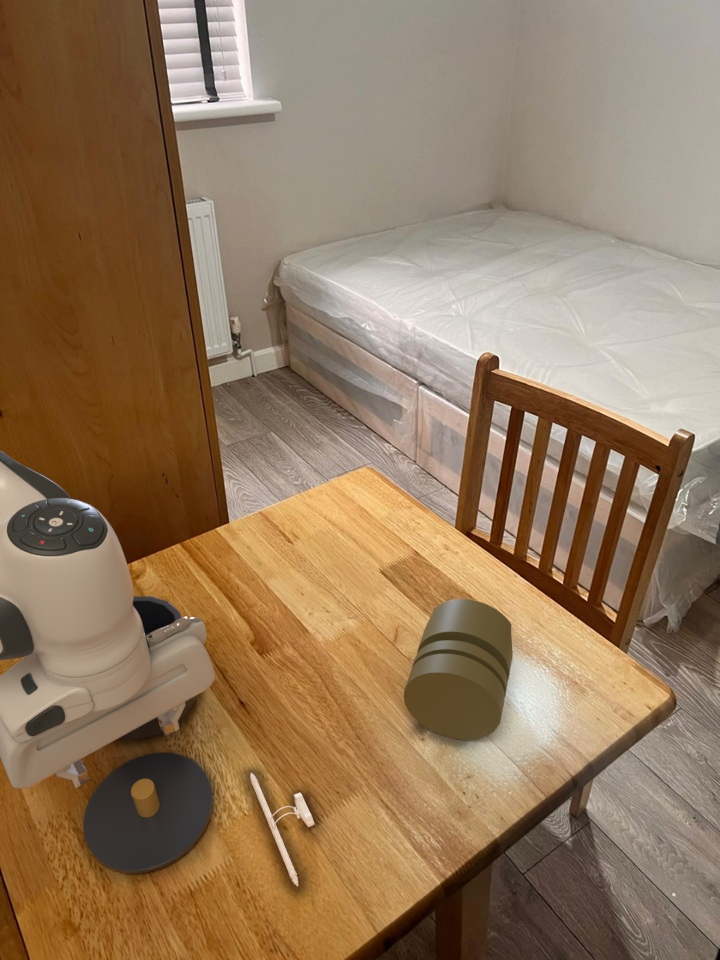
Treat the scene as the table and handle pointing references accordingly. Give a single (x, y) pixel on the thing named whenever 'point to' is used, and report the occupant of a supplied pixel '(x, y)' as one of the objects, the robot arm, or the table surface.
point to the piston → (461, 670)
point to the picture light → (301, 810)
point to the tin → (153, 618)
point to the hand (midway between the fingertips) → (126, 753)
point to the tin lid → (148, 812)
